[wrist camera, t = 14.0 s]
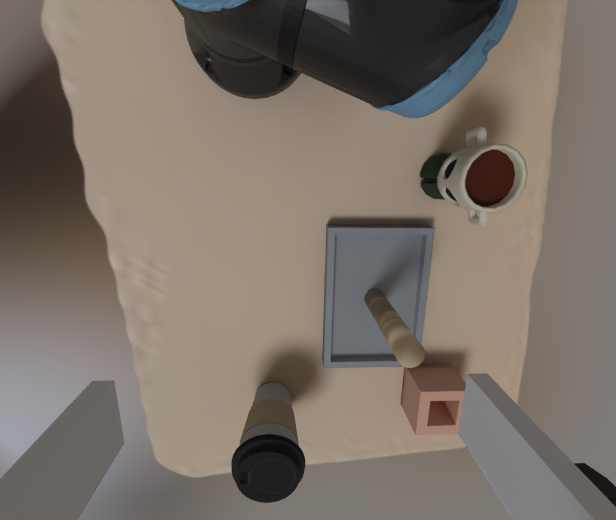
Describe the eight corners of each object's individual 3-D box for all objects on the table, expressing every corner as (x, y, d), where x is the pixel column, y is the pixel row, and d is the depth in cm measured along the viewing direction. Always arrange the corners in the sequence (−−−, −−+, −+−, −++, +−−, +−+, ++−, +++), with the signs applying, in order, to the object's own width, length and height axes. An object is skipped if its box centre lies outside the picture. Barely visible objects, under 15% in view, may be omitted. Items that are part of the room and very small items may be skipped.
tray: (326, 224, 48) (328, 227, 45) (427, 225, 49) (434, 228, 46) (322, 359, 54) (323, 367, 51) (413, 357, 54) (418, 366, 52)
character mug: (412, 140, 45) (458, 129, 33) (463, 131, 45) (529, 117, 33) (418, 218, 48) (462, 235, 36) (466, 210, 48) (527, 224, 36)
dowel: (364, 289, 50) (398, 342, 34) (384, 288, 50) (426, 342, 34) (363, 307, 50) (395, 368, 35) (383, 307, 51) (423, 367, 35)
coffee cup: (235, 385, 54) (214, 464, 40) (287, 363, 53) (286, 435, 39) (260, 428, 57) (250, 517, 42) (310, 408, 56) (317, 491, 41)
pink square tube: (404, 364, 55) (420, 391, 48) (449, 363, 55) (471, 390, 48) (400, 403, 57) (415, 435, 50) (443, 402, 57) (464, 433, 50)
